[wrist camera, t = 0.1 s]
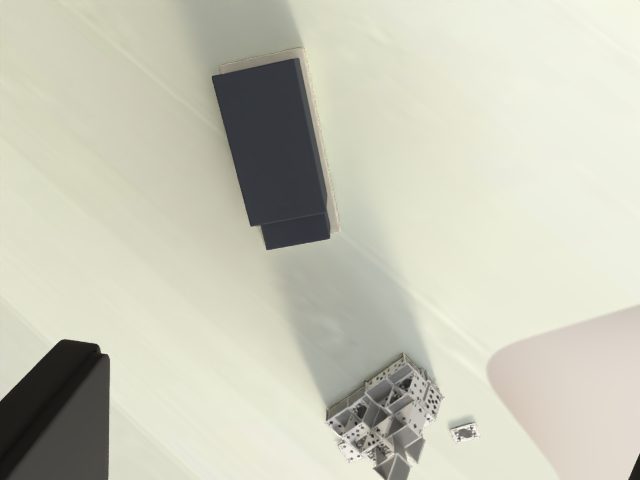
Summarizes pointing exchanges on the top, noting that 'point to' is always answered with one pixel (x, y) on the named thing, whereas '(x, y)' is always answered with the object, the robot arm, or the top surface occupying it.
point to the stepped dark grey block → (278, 147)
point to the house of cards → (390, 419)
